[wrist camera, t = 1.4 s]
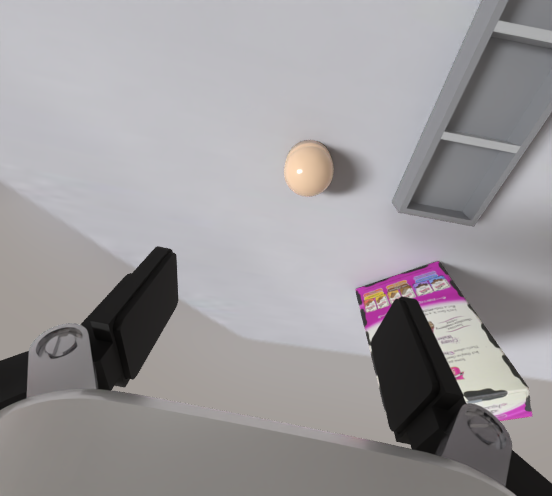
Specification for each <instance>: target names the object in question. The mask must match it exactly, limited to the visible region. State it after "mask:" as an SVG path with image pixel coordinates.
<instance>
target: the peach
mask: <svg viewBox="0 0 552 496" xmlns="http://www.w3.org/2000/svg"><path fill="white" fill-rule="evenodd" d="M333 173H334V167H333V162H332V159H331V155H330V153H329V151H328V149H327V148H326V147H325V146H324V145H323V144H322V143H320V142H318V141H315V140H304V141H301V142H299V143H297V144H296V145H294V146H293V147H292V148H291V150H290V151H289V153H288V155H287V158H286V162H285V167H284V176H285V180H286V183H287V185H288V186H289V188H290V189H291V190H292V191H293V192H295V193H296V194H298V195H301V196H305V197H311V196H316V195H318V194H320V193H322V192H323V191H324V190H325V189H326V188H327V187H328V186H329V185H330V183H331V181H332V178H333Z"/></svg>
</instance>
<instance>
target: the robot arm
mask: <svg viewBox="0 0 552 496" xmlns="http://www.w3.org/2000/svg"><path fill="white" fill-rule="evenodd" d="M177 303H178V283H177V260H176V254H175V253H173V252H172V250H171V249H168V248H163V247H156V248H155V249H154V250H153V251H152V252H151V253H150V254H149V255H148V256H147V257H146V259H145V260H144V261H143V262H142V263H141V264H140V265H139V266H138V267H137V269H136V270H135V271H134V272H133V273H132V274H131V273H130V274H127V275H126V276H125V277H124V278H123V279H122V280H121V281H120V283H118V285H117V286H116V287H115V288H114V289H113V290H112V291H111V292H110V293H109V295H107V297H106V298H105V299H104V300H103V301H102V302H101V303H100V304H99V305H98V306H97V307H96V308H95V310H94V311H93V312H92V313H91V314H90V315H89V316H88V317H87V318H86V319H85V320H84V322H83V323H82V324H81V325H78V324H70V323H68V324H62V325H58V326H55V327H53V328H50V329H49V330H47V331H45V332H43V333H42V334H41V335H39V336H38V337H37V338H36V339H35V340H34V341H33V343H32V344H31V346H30V349H29V351H27V352H24V353H21V354H18V355H15V356H13V357H10V358H7V359H4V360H1V361H0V496H552V483H550V482H549V481H548V480H547V479H546V478H544V477H543V476H542V475H541V474H540V473H539V472H537V471H536V470H535V469H534V468H533V467H531V466H530V465H529V464H528V463H527V462H526V461H524V460H523V459H522V458H521V457H520V456H519V455H517V454H516V453H515V452H514V451H513V450H512V441H511V438H510V436H509V433H508V432H507V430H506V429H505V427H504V425H503V424H502V423H501V422H500V421H499V420H498V418H497V417H495V416H494V415H493V414H492V413H491V412H490V411H488V410H486V409H485V408H483V407H482V406H479V405H476V404H472V403H466V401H465V399H464V397H463V396H464V395H463V393H462V391H461V389H460V387H459V384H458V382H457V380H456V378H455V376H454V374H453V372H452V370H451V368H450V366H449V364H448V362H447V360H446V358H445V356H444V354H443V352H442V350H441V347H440V345H439V343H438V341H437V339H436V337H435V335H434V333H433V331H432V329H431V327H430V325H429V323H428V321H427V319H426V317H425V315H424V313H423V310H422V308H421V306H420V304H419V302H418V301H417V300H416V299H413V298H408V297H403V296H401V297H400V298H399V299H395V300H394V302H393V303H392V305H391V307H390V309H389V310H388V312H387V314H386V315H385V317H384V319H383V320H382V322H381V324H380V326H379V327H378V329H377V331H376V332H375V334H374V336H373V337H372V340H371V349H372V354H373V358H374V362H375V367H376V371H377V375H378V380H379V384H380V389H381V393H382V397H383V402H384V406H385V410H386V415H387V419H388V423H389V427H390V429H391V430H392V431H394V434H395V438H396V441H397V442H401V443H407V444H411V448H412V449H409V448H404V447H399V446H395V445H391V444H386V443H382V442H377V441H371V440H367V439H362V438H357V437H352V436H348V435H343V434H338V433H332V432H328V431H323V430H318V429H313V428H308V427H303V426H298V425H293V424H288V423H283V422H278V421H273V420H268V419H263V418H258V417H253V416H248V415H243V414H238V413H233V412H228V411H223V410H217V409H212V408H206V407H202V406H196V405H192V404H186V403H181V402H176V401H171V400H165V399H159V398H154V397H148V396H143V395H137V394H131V393H125V392H118V391H111V390H112V388H113V387H114V385H115V386H120V387H126V385H127V383H128V381H129V380H130V379H134V378H135V377H136V376H137V374H138V373H139V371H140V369H141V367H142V365H143V364H144V362H145V360H146V359H147V357H148V355H149V353H150V352H151V350H152V348H153V346H154V345H155V343H156V341H157V340H158V338H159V336H160V334H161V332H162V331H163V329H164V327H165V326H166V324H167V322H168V320H169V319H170V317H171V315H172V314H173V312H174V310H175V308H176V306H177Z"/></svg>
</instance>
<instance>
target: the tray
mask: <svg viewBox="0 0 552 496" xmlns="http://www.w3.org/2000/svg"><path fill="white" fill-rule="evenodd" d="M551 112H552V0H482V1H481V3H480V5H479V8H478V10H477V12H476V14H475V17H474V19H473V21H472V23H471V26H470V28H469V30H468V32H467V34H466V37H465V39H464V41H463V43H462V46H461V48H460V50H459V52H458V55H457V57H456V59H455V61H454V64H453V66H452V68H451V70H450V73H449V75H448V77H447V79H446V82H445V84H444V86H443V88H442V90H441V93H440V95H439V97H438V99H437V102H436V104H435V106H434V108H433V111H432V113H431V115H430V117H429V120H428V122H427V124H426V126H425V129H424V131H423V133H422V135H421V138H420V140H419V142H418V144H417V146H416V149H415V151H414V153H413V155H412V158H411V160H410V162H409V164H408V167H407V169H406V171H405V173H404V176H403V178H402V180H401V182H400V185H399V187H398V189H397V191H396V194H395V196H394V198H393V200H392V203H393V205H394V206H395V208H396V209H397V211H398V213H404V214H409V215H414V216H420V217H425V218H430V219H436V220H441V221H446V222H452V223H457V224H462V225H468V226H473V227H474V226H475V224H476V223H477V221H478V220H479V218H480V217H481V215H482V214H483V212H484V211H485V210H486V208H487V207H488V205H489V204H490V202H491V201H492V199H493V198H494V196H495V195H496V193H497V192H498V190H499V189H500V187H501V186H502V185H503V183H504V182H505V180H506V179H507V177H508V176H509V174H510V173H511V171H512V170H513V168H514V167H515V165H516V164H517V162H518V161H519V160H520V158H521V157H522V155H523V154H524V152H525V151H526V149H527V148H528V146H529V145H530V143H531V142H532V140H533V139H534V137H535V136H536V135H537V133H538V132H539V130H540V129H541V127H542V126H543V124H544V123H545V121H546V120H547V118H548V117H549V115H550V114H551Z"/></svg>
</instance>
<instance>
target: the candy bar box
mask: <svg viewBox="0 0 552 496" xmlns="http://www.w3.org/2000/svg"><path fill="white" fill-rule="evenodd" d="M355 290H356V295H357V299H358V303H359V308H360V312H361V316H362V320H363V324H364V328H365V332H366V336H367V340H368V344H369V349H370V353H371V357H372V361H373V365H374V370H375V373H376V377H377V381H378V385H379V389H380V384H379V380H378V375H377V371H376V367H375V362H374V358H373V354H372V349H371V340H372V337H373V336H374V334H375V332H376V331H377V329H378V327H379V326H380V324H381V322H382V320H383V319H384V317H385V315H386V314H387V312H388V310H389V309H390V307H391V305H392V303H393V302H394V300H395V299H399V298H400V297H401V296H403V297H408V298H413V299H416V300H417V301H418V302H419V304H420V306H421V308H422V310H423V313H424V315H425V317H426V319H427V321H428V323H429V325H430V327H431V329H432V331H433V333H434V335H435V337H436V339H437V341H438V343H439V345H440V347H441V350H442V352H443V354H444V356H445V358H446V360H447V362H448V364H449V366H450V368H451V370H452V372H453V374H454V376H455V378H456V380H457V382H458V384H459V387H460V389H461V391H462V393H463V395H464V396H463V397H464V399H465V401H466V403H472V404H476V405H479V406H482V407H483V408H485V409H486V410H488V411H490V412H491V413H492V414H493V415H494V416H495V417H497V418H498V420H499V421H504V420H511V419H517V418H525V417H532V410H531V407H530V396H529V387H528V386H527V385H526V383H525V382H524V380H523V379H522V378H521V376H520V375H519V374H518V372H517V370H516V369H515V367H514V366H513V365H512V363H511V362H510V361H509V359H508V358H507V357H506V355H505V354H504V352H503V351H502V350H501V348H500V347H499V345H498V344H497V343H496V341H495V340H494V338H493V337H492V336H491V334H490V333H489V331H488V330H487V328H486V327H485V326H484V324H483V323H482V321H481V320H480V319H479V317H478V316H477V314H476V313H475V312H474V310H473V309H472V307H471V306H470V304H469V303H468V302H467V300H466V299H465V297H464V296H463V295H462V293H461V292H460V290H459V289H458V287H457V286H456V285H455V283H454V282H453V280H452V279H451V278H450V276H449V275H448V273H447V272H446V270H445V269H444V267H443V266H442V265H441V263H440V262H439V261H437V262H433V263H431V264H428V265H425V266H422V267H419V268H416V269H413V270H410V271H407V272H404V273H401V274H398V275H395V276H392V277H390V278H387V279H384V280H381V281H378V282H375V283H372V284H369V285H366V286H363V287H360V288H357V289H355ZM380 394H381V397H382V393H381V389H380ZM382 402H383V397H382ZM383 406H384V402H383ZM384 409H385V406H384ZM385 413H386V410H385Z"/></svg>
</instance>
